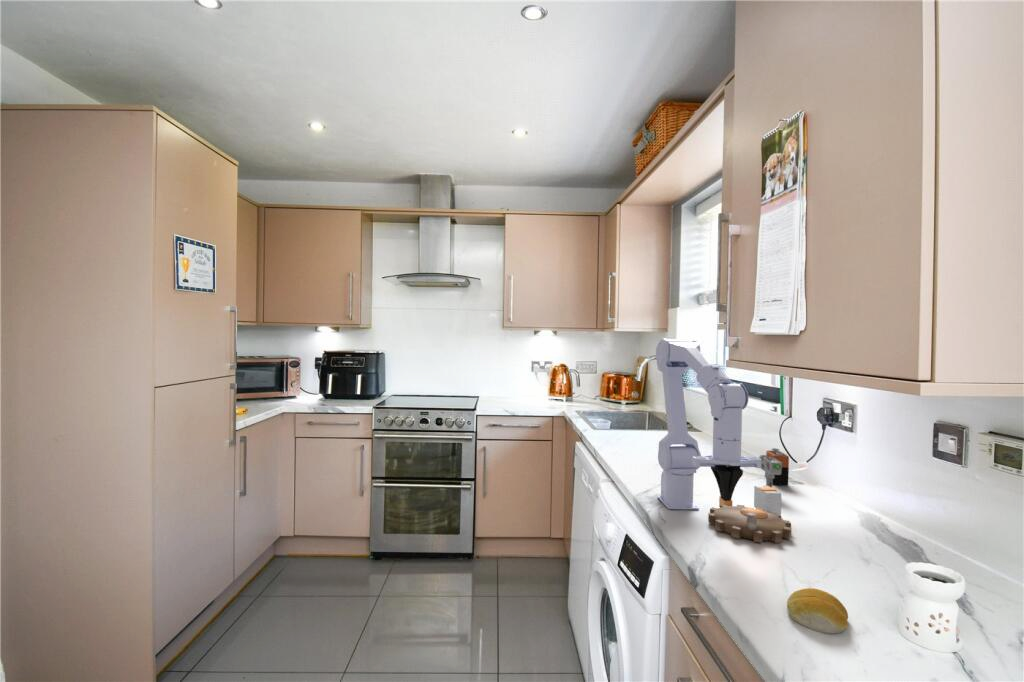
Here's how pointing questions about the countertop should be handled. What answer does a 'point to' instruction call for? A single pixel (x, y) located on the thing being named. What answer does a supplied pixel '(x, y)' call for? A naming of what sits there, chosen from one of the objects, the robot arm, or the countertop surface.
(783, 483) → the battery
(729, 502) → the block
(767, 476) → the mechanical component
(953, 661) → the countertop surface
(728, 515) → the brown gear wheel
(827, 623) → the bread roll
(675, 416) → the robot arm
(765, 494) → the white banded box
